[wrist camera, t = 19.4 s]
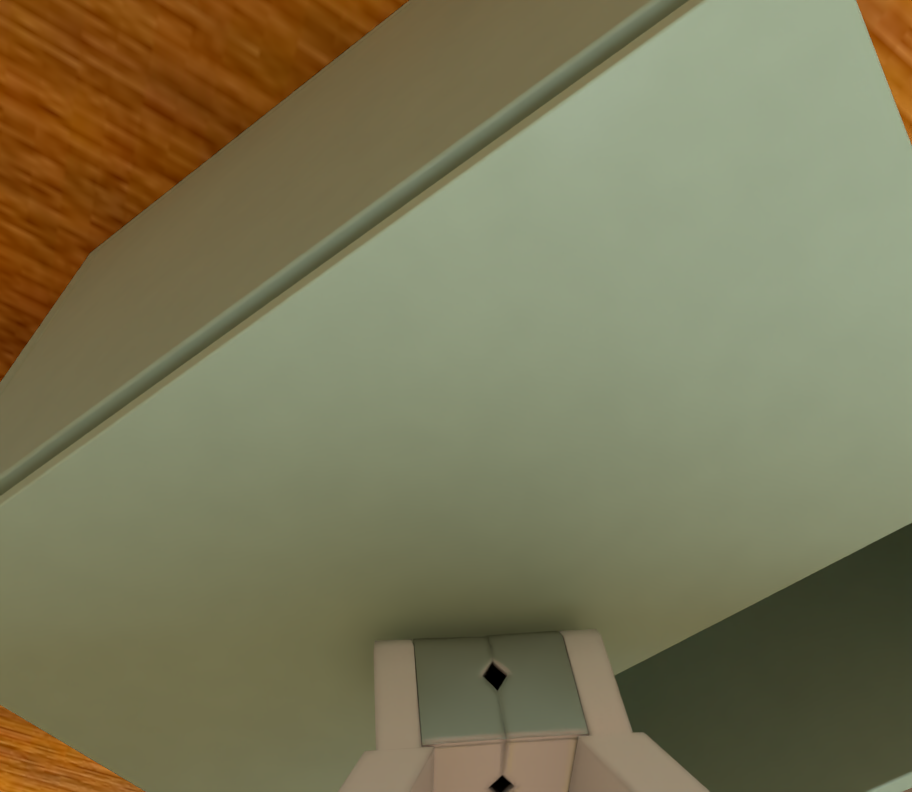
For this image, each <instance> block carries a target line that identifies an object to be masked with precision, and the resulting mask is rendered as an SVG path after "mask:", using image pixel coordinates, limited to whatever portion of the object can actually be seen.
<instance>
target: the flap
mask: <svg viewBox="0 0 912 792" xmlns="http://www.w3.org/2000/svg"><path fill="white" fill-rule="evenodd" d="M910 523H912V145H911V143H910V140H909V137H908V135H907V132H906V130H905V127H904V124H903V122H902V119H901V117H900V114H899V111H898V109H897V106H896V103H895V101H894V98H893V96H892V93H891V90H890V88H889V85H888V83H887V80H886V77H885V75H884V72H883V70H882V67H881V64H880V62H879V59H878V57H877V54H876V51H875V49H874V46H873V44H872V41H871V38H870V36H869V33H868V31H867V28H866V25H865V23H864V20H863V17H862V15H861V12H860V10H859V7H858V4H857V2H856V0H689V1H688V2H686V3H685V4H683V5H682V6H681V7H679V8H678V9H676V10H675V11H674V12H672V13H671V14H669V15H668V16H667V17H665V18H664V19H662V20H661V21H660V22H658V23H657V24H656V25H654V26H653V27H651V28H650V29H649V30H647V31H646V32H644V33H643V34H642V35H640V36H639V37H637V38H636V39H635V40H633V41H632V42H631V43H629V44H628V45H626V46H625V47H624V48H622V49H621V50H619V51H618V52H617V53H615V54H614V55H612V56H611V57H610V58H608V59H607V60H606V61H604V62H603V63H601V64H600V65H599V66H597V67H596V68H594V69H593V70H592V71H590V72H589V73H587V74H586V75H585V76H583V77H582V78H581V79H579V80H578V81H576V82H575V83H574V84H572V85H571V86H569V87H568V88H567V89H565V90H564V91H562V92H561V93H560V94H558V95H557V96H556V97H554V98H553V99H551V100H550V101H549V102H547V103H546V104H544V105H543V106H542V107H540V108H539V109H537V110H536V111H535V112H533V113H532V114H530V115H529V116H528V117H526V118H525V119H524V120H522V121H521V122H519V123H518V124H517V125H515V126H514V127H512V128H511V129H510V130H508V131H507V132H505V133H504V134H503V135H501V136H500V137H499V138H497V139H496V140H494V141H493V142H492V143H490V144H489V145H487V146H486V147H485V148H483V149H482V150H480V151H479V152H478V153H476V154H475V155H474V156H472V157H471V158H469V159H468V160H467V161H465V162H464V163H462V164H461V165H460V166H458V167H457V168H455V169H454V170H453V171H451V172H450V173H449V174H447V175H446V176H444V177H443V178H442V179H440V180H439V181H437V182H436V183H435V184H433V185H432V186H430V187H429V188H428V189H426V190H425V191H423V192H422V193H421V194H419V195H418V196H417V197H415V198H414V199H412V200H411V201H410V202H408V203H407V204H405V205H404V206H403V207H401V208H400V209H398V210H397V211H396V212H394V213H393V214H392V215H390V216H389V217H387V218H386V219H385V220H383V221H382V222H380V223H379V224H378V225H376V226H375V227H373V228H372V229H371V230H369V231H368V232H367V233H365V234H364V235H362V236H361V237H360V238H358V239H357V240H355V241H354V242H353V243H351V244H350V245H348V246H347V247H346V248H344V249H343V250H342V251H340V252H339V253H337V254H336V255H335V256H333V257H332V258H330V259H329V260H328V261H326V262H325V263H323V264H322V265H321V266H319V267H318V268H317V269H315V270H314V271H312V272H311V273H310V274H308V275H307V276H305V277H304V278H303V279H301V280H300V281H298V282H297V283H296V284H294V285H293V286H291V287H290V288H289V289H287V290H286V291H285V292H283V293H282V294H280V295H279V296H278V297H276V298H275V299H273V300H272V301H271V302H269V303H268V304H266V305H265V306H264V307H262V308H261V309H260V310H258V311H257V312H255V313H254V314H253V315H251V316H250V317H248V318H247V319H246V320H244V321H243V322H241V323H240V324H239V325H237V326H236V327H235V328H233V329H232V330H230V331H229V332H228V333H226V334H225V335H223V336H222V337H221V338H219V339H218V340H216V341H215V342H214V343H212V344H211V345H210V346H208V347H207V348H205V349H204V350H203V351H201V352H200V353H198V354H197V355H196V356H194V357H193V358H191V359H190V360H189V361H187V362H186V363H184V364H183V365H182V366H180V367H179V368H178V369H176V370H175V371H173V372H172V373H171V374H169V375H168V376H166V377H165V378H164V379H162V380H161V381H159V382H158V383H157V384H155V385H154V386H153V387H151V388H150V389H148V390H147V391H146V392H144V393H143V394H141V395H140V396H139V397H137V398H136V399H134V400H133V401H132V402H130V403H129V404H128V405H126V406H125V407H123V408H122V409H121V410H119V411H118V412H116V413H115V414H114V415H112V416H111V417H109V418H108V419H107V420H105V421H104V422H103V423H101V424H100V425H98V426H97V427H96V428H94V429H93V430H91V431H90V432H89V433H87V434H86V435H84V436H83V437H82V438H80V439H79V440H77V441H76V442H75V443H73V444H72V445H71V446H69V447H68V448H66V449H65V450H64V451H62V452H61V453H59V454H58V455H57V456H55V457H54V458H52V459H51V460H50V461H48V462H47V463H46V464H44V465H43V466H41V467H40V468H39V469H37V470H36V471H34V472H33V473H32V474H30V475H29V476H27V477H26V478H25V479H23V480H22V481H21V482H19V483H18V484H16V485H15V486H14V487H12V488H11V489H9V490H8V491H7V492H5V493H4V494H2V495H1V496H0V705H2V706H3V707H5V708H7V709H8V710H10V711H12V712H13V713H15V714H17V715H18V716H20V717H22V718H23V719H25V720H27V721H28V722H30V723H32V724H33V725H35V726H37V727H38V728H40V729H42V730H43V731H45V732H47V733H48V734H50V735H52V736H53V737H55V738H57V739H59V740H60V741H62V742H64V743H65V744H67V745H69V746H70V747H72V748H74V749H75V750H77V751H79V752H80V753H82V754H84V755H85V756H87V757H89V758H90V759H92V760H94V761H95V762H97V763H99V764H100V765H102V766H104V767H105V768H107V769H109V770H110V771H112V772H114V773H115V774H117V775H119V776H120V777H122V778H124V779H125V780H127V781H129V782H130V783H132V784H134V785H136V786H137V787H139V788H141V789H142V790H144V791H146V792H338V791H339V789H340V788H341V786H342V785H343V783H344V782H345V780H346V778H347V777H348V775H349V774H350V772H351V771H352V769H353V768H354V766H355V765H356V763H357V762H358V760H359V759H360V757H361V756H362V754H363V753H364V751H370V750H376V732H375V691H374V642H375V640H400V639H412V641H413V639H416V638H451V637H485V636H486V635H499V634H514V633H529V632H544V631H558V632H559V631H567V630H584V629H596V630H597V631H598V632H599V633H600V634H601V636H602V639H603V642H604V645H605V649H606V652H607V655H608V658H609V661H610V664H611V667H612V670H613V673H614V676H615V675H616V674H618V673H620V672H622V671H624V670H626V669H628V668H630V667H632V666H634V665H636V664H638V663H640V662H642V661H644V660H646V659H648V658H650V657H651V656H653V655H655V654H657V653H659V652H661V651H663V650H665V649H667V648H669V647H671V646H673V645H675V644H677V643H679V642H681V641H683V640H685V639H686V638H688V637H690V636H692V635H694V634H696V633H698V632H700V631H702V630H704V629H706V628H708V627H710V626H712V625H714V624H716V623H718V622H720V621H722V620H723V619H725V618H727V617H729V616H731V615H733V614H735V613H737V612H739V611H741V610H743V609H745V608H747V607H749V606H751V605H753V604H755V603H757V602H758V601H760V600H762V599H764V598H766V597H768V596H770V595H772V594H774V593H776V592H778V591H780V590H782V589H784V588H786V587H788V586H790V585H792V584H793V583H795V582H797V581H799V580H801V579H803V578H805V577H807V576H809V575H811V574H813V573H815V572H817V571H819V570H821V569H823V568H825V567H827V566H828V565H830V564H832V563H834V562H836V561H838V560H840V559H842V558H844V557H846V556H848V555H850V554H852V553H854V552H856V551H858V550H860V549H862V548H863V547H865V546H867V545H869V544H871V543H873V542H875V541H877V540H879V539H881V538H883V537H885V536H887V535H889V534H891V533H893V532H895V531H897V530H898V529H900V528H902V527H904V526H906V525H908V524H910Z"/></svg>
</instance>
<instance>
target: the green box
mask: <svg viewBox="0 0 912 792" xmlns="http://www.w3.org/2000/svg"><path fill="white" fill-rule="evenodd" d="M688 1H689V0H409V1H408V2H407V3H405V4H404V5H403V6H402V7H400V8H399V9H398V10H397V11H395V12H394V13H393V14H392V15H390V16H389V17H388V18H386V19H385V20H384V21H383V22H381V23H380V24H379V25H378V26H376V27H375V28H374V29H373V30H371V31H370V32H369V33H367V34H366V35H365V36H364V37H362V38H361V39H360V40H359V41H357V42H356V43H355V44H354V45H352V46H351V47H350V48H349V49H347V50H346V51H345V52H343V53H342V54H341V55H340V56H338V57H337V58H336V59H335V60H333V61H332V62H331V63H330V64H328V65H327V66H326V67H325V68H323V69H322V70H321V71H319V72H318V73H317V74H316V75H314V76H313V77H312V78H311V79H309V80H308V81H307V82H306V83H304V84H303V85H302V86H300V87H299V88H298V89H297V90H295V91H294V92H293V93H292V94H290V95H289V96H288V97H287V98H285V99H284V100H283V101H282V102H280V103H279V104H278V105H276V106H275V107H274V108H273V109H271V110H270V111H269V112H268V113H266V114H265V115H264V116H263V117H261V118H260V119H259V120H257V121H256V122H255V123H254V124H252V125H251V126H250V127H249V128H247V129H246V130H245V131H244V132H242V133H241V134H240V135H239V136H237V137H236V138H235V139H233V140H232V141H231V142H230V143H228V144H227V145H226V146H225V147H223V148H222V149H221V150H220V151H218V152H217V153H216V154H215V155H213V156H212V157H211V158H209V159H208V160H207V161H206V162H204V163H203V164H202V165H201V166H199V167H198V168H197V169H196V170H194V171H193V172H192V173H190V174H189V175H188V176H187V177H185V178H184V179H183V180H182V181H180V182H179V183H178V184H177V185H175V186H174V187H173V188H172V189H170V190H169V191H168V192H166V193H165V194H164V195H163V196H161V197H160V198H159V199H158V200H156V201H155V202H154V203H153V204H151V205H150V206H149V207H148V208H146V209H145V210H144V211H142V212H141V213H140V214H139V215H137V216H136V217H135V218H134V219H132V220H131V221H130V222H129V223H127V224H126V225H125V226H123V227H122V228H121V229H120V230H118V231H117V232H116V233H115V234H113V235H112V236H111V237H110V238H108V239H107V240H106V241H105V242H103V243H102V244H101V245H99V246H98V247H97V248H96V249H94V250H93V251H92V252H91V253H90V254H89V255H88V257H87V258H86V260H85V261H84V263H83V264H82V266H81V267H80V268H79V270H78V271H77V273H76V274H75V276H74V277H73V279H72V280H71V281H70V283H69V284H68V286H67V287H66V289H65V290H64V291H63V293H62V294H61V296H60V297H59V299H58V300H57V302H56V303H55V304H54V306H53V307H52V309H51V310H50V312H49V313H48V314H47V316H46V317H45V319H44V320H43V322H42V323H41V325H40V326H39V327H38V329H37V330H36V332H35V333H34V335H33V336H32V338H31V339H30V340H29V342H28V343H27V345H26V346H25V348H24V349H23V350H22V352H21V353H20V355H19V356H18V358H17V359H16V361H15V362H14V363H13V365H12V366H11V368H10V369H9V371H8V372H7V373H6V375H5V376H4V378H3V379H2V381H1V382H0V496H1V495H2V494H4V493H5V492H7V491H8V490H9V489H11V488H12V487H14V486H15V485H16V484H18V483H19V482H21V481H22V480H23V479H25V478H26V477H27V476H29V475H30V474H32V473H33V472H34V471H36V470H37V469H39V468H40V467H41V466H43V465H44V464H46V463H47V462H48V461H50V460H51V459H52V458H54V457H55V456H57V455H58V454H59V453H61V452H62V451H64V450H65V449H66V448H68V447H69V446H71V445H72V444H73V443H75V442H76V441H77V440H79V439H80V438H82V437H83V436H84V435H86V434H87V433H89V432H90V431H91V430H93V429H94V428H96V427H97V426H98V425H100V424H101V423H103V422H104V421H105V420H107V419H108V418H109V417H111V416H112V415H114V414H115V413H116V412H118V411H119V410H121V409H122V408H123V407H125V406H126V405H128V404H129V403H130V402H132V401H133V400H134V399H136V398H137V397H139V396H140V395H141V394H143V393H144V392H146V391H147V390H148V389H150V388H151V387H153V386H154V385H155V384H157V383H158V382H159V381H161V380H162V379H164V378H165V377H166V376H168V375H169V374H171V373H172V372H173V371H175V370H176V369H178V368H179V367H180V366H182V365H183V364H184V363H186V362H187V361H189V360H190V359H191V358H193V357H194V356H196V355H197V354H198V353H200V352H201V351H203V350H204V349H205V348H207V347H208V346H210V345H211V344H212V343H214V342H215V341H216V340H218V339H219V338H221V337H222V336H223V335H225V334H226V333H228V332H229V331H230V330H232V329H233V328H235V327H236V326H237V325H239V324H240V323H241V322H243V321H244V320H246V319H247V318H248V317H250V316H251V315H253V314H254V313H255V312H257V311H258V310H260V309H261V308H262V307H264V306H265V305H266V304H268V303H269V302H271V301H272V300H273V299H275V298H276V297H278V296H279V295H280V294H282V293H283V292H285V291H286V290H287V289H289V288H290V287H291V286H293V285H294V284H296V283H297V282H298V281H300V280H301V279H303V278H304V277H305V276H307V275H308V274H310V273H311V272H312V271H314V270H315V269H317V268H318V267H319V266H321V265H322V264H323V263H325V262H326V261H328V260H329V259H330V258H332V257H333V256H335V255H336V254H337V253H339V252H340V251H342V250H343V249H344V248H346V247H347V246H348V245H350V244H351V243H353V242H354V241H355V240H357V239H358V238H360V237H361V236H362V235H364V234H365V233H367V232H368V231H369V230H371V229H372V228H373V227H375V226H376V225H378V224H379V223H380V222H382V221H383V220H385V219H386V218H387V217H389V216H390V215H392V214H393V213H394V212H396V211H397V210H398V209H400V208H401V207H403V206H404V205H405V204H407V203H408V202H410V201H411V200H412V199H414V198H415V197H417V196H418V195H419V194H421V193H422V192H423V191H425V190H426V189H428V188H429V187H430V186H432V185H433V184H435V183H436V182H437V181H439V180H440V179H442V178H443V177H444V176H446V175H447V174H449V173H450V172H451V171H453V170H454V169H455V168H457V167H458V166H460V165H461V164H462V163H464V162H465V161H467V160H468V159H469V158H471V157H472V156H474V155H475V154H476V153H478V152H479V151H480V150H482V149H483V148H485V147H486V146H487V145H489V144H490V143H492V142H493V141H494V140H496V139H497V138H499V137H500V136H501V135H503V134H504V133H505V132H507V131H508V130H510V129H511V128H512V127H514V126H515V125H517V124H518V123H519V122H521V121H522V120H524V119H525V118H526V117H528V116H529V115H530V114H532V113H533V112H535V111H536V110H537V109H539V108H540V107H542V106H543V105H544V104H546V103H547V102H549V101H550V100H551V99H553V98H554V97H556V96H557V95H558V94H560V93H561V92H562V91H564V90H565V89H567V88H568V87H569V86H571V85H572V84H574V83H575V82H576V81H578V80H579V79H581V78H582V77H583V76H585V75H586V74H587V73H589V72H590V71H592V70H593V69H594V68H596V67H597V66H599V65H600V64H601V63H603V62H604V61H606V60H607V59H608V58H610V57H611V56H612V55H614V54H615V53H617V52H618V51H619V50H621V49H622V48H624V47H625V46H626V45H628V44H629V43H631V42H632V41H633V40H635V39H636V38H637V37H639V36H640V35H642V34H643V33H644V32H646V31H647V30H649V29H650V28H651V27H653V26H654V25H656V24H657V23H658V22H660V21H661V20H662V19H664V18H665V17H667V16H668V15H669V14H671V13H672V12H674V11H675V10H676V9H678V8H679V7H681V6H682V5H683V4H685V3H686V2H688ZM615 679H616V682H617V685H618V688H619V691H620V695H621V698H622V701H623V704H624V707H625V710H626V713H627V716H628V719H629V722H630V725H631V728H632V731H633V732H644V733H646V734H647V735H648V736H649V737H650V738H651V739H652V740H653V741H654V742H656V743H657V744H658V745H659V746H660V747H661V748H662V749H663V750H664V751H666V752H667V753H668V754H669V755H670V756H671V757H672V758H673V759H674V760H676V761H677V762H678V763H679V764H680V765H681V766H682V767H683V768H684V769H686V770H687V771H688V772H689V773H690V774H691V775H692V776H693V777H694V778H696V779H697V780H698V781H699V782H700V783H701V784H702V785H703V786H705V787H706V788H707V789H708V790H709V791H710V792H902V791H905V790H907V789H909V788H912V523H910V524H908V525H906V526H904V527H902V528H900V529H898V530H897V531H895V532H893V533H891V534H889V535H887V536H885V537H883V538H881V539H879V540H877V541H875V542H873V543H871V544H869V545H867V546H865V547H863V548H862V549H860V550H858V551H856V552H854V553H852V554H850V555H848V556H846V557H844V558H842V559H840V560H838V561H836V562H834V563H832V564H830V565H828V566H827V567H825V568H823V569H821V570H819V571H817V572H815V573H813V574H811V575H809V576H807V577H805V578H803V579H801V580H799V581H797V582H795V583H793V584H792V585H790V586H788V587H786V588H784V589H782V590H780V591H778V592H776V593H774V594H772V595H770V596H768V597H766V598H764V599H762V600H760V601H758V602H757V603H755V604H753V605H751V606H749V607H747V608H745V609H743V610H741V611H739V612H737V613H735V614H733V615H731V616H729V617H727V618H725V619H723V620H722V621H720V622H718V623H716V624H714V625H712V626H710V627H708V628H706V629H704V630H702V631H700V632H698V633H696V634H694V635H692V636H690V637H688V638H686V639H685V640H683V641H681V642H679V643H677V644H675V645H673V646H671V647H669V648H667V649H665V650H663V651H661V652H659V653H657V654H655V655H653V656H651V657H650V658H648V659H646V660H644V661H642V662H640V663H638V664H636V665H634V666H632V667H630V668H628V669H626V670H624V671H622V672H620V673H618V674H616V675H615Z"/></svg>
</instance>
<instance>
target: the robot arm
mask: <svg viewBox="0 0 912 792" xmlns="http://www.w3.org/2000/svg"><path fill="white" fill-rule="evenodd" d="M374 691H375V732H376V750H370V751H364V753H363V754H362V756H361V757H360V759H359V760H358V762H357V763H356V765H355V766H354V768H353V769H352V771H351V772H350V774H349V775H348V777H347V778H346V780H345V782H344V783H343V785H342V786H341V788H340V789H339V791H338V792H710V791H709V790H708V789H707V788H706V787H705V786H703V785H702V784H701V783H700V782H699V781H698V780H697V779H696V778H694V777H693V776H692V775H691V774H690V773H689V772H688V771H687V770H686V769H684V768H683V767H682V766H681V765H680V764H679V763H678V762H677V761H676V760H674V759H673V758H672V757H671V756H670V755H669V754H668V753H667V752H666V751H664V750H663V749H662V748H661V747H660V746H659V745H658V744H657V743H656V742H654V741H653V740H652V739H651V738H650V737H649V736H648V735H647V734H646V733H644V732H633V731H632V728H631V725H630V722H629V719H628V716H627V713H626V710H625V707H624V704H623V701H622V698H621V695H620V691H619V688H618V685H617V682H616V679H615V676H614V673H613V670H612V667H611V664H610V661H609V658H608V655H607V652H606V649H605V645H604V642H603V639H602V636H601V634H600V633H599V632H598V631H597V630H596V629H584V630H567V631H559V632H558V631H544V632H529V633H514V634H499V635H486V636H485V637H451V638H416V639H413V641H412V639H400V640H375V642H374Z"/></svg>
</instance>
